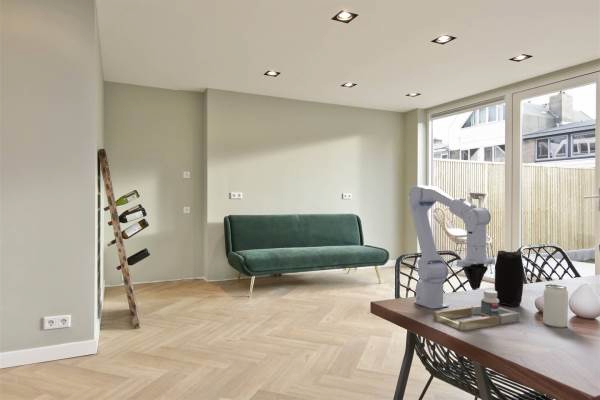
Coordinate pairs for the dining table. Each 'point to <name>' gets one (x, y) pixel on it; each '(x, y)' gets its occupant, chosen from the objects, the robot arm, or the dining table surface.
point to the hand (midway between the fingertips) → (475, 287)
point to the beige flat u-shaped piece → (463, 325)
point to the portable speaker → (509, 278)
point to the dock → (500, 314)
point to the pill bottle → (489, 304)
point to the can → (555, 306)
